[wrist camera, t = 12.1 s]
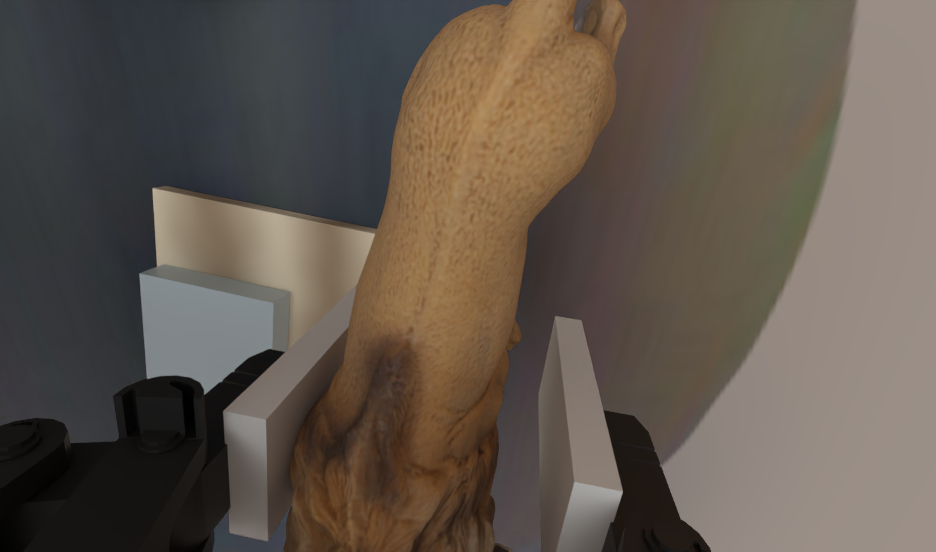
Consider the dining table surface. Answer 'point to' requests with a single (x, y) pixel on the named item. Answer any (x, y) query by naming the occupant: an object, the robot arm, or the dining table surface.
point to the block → (207, 323)
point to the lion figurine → (450, 280)
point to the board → (262, 249)
